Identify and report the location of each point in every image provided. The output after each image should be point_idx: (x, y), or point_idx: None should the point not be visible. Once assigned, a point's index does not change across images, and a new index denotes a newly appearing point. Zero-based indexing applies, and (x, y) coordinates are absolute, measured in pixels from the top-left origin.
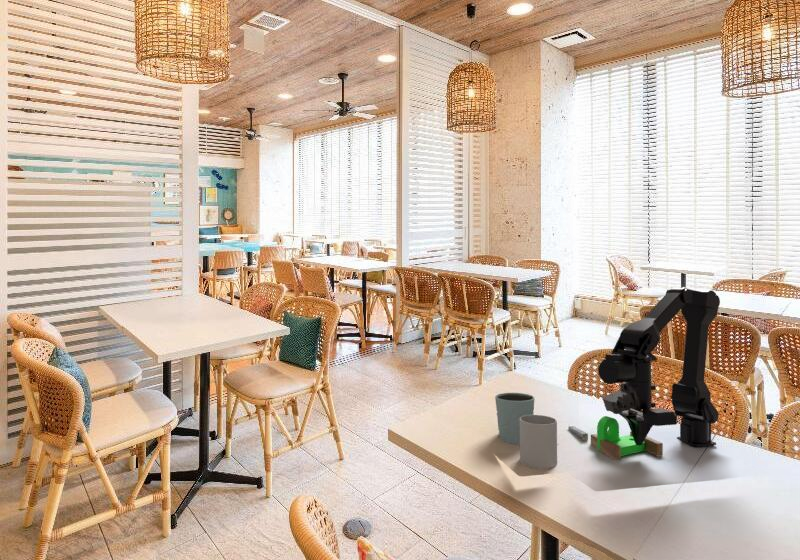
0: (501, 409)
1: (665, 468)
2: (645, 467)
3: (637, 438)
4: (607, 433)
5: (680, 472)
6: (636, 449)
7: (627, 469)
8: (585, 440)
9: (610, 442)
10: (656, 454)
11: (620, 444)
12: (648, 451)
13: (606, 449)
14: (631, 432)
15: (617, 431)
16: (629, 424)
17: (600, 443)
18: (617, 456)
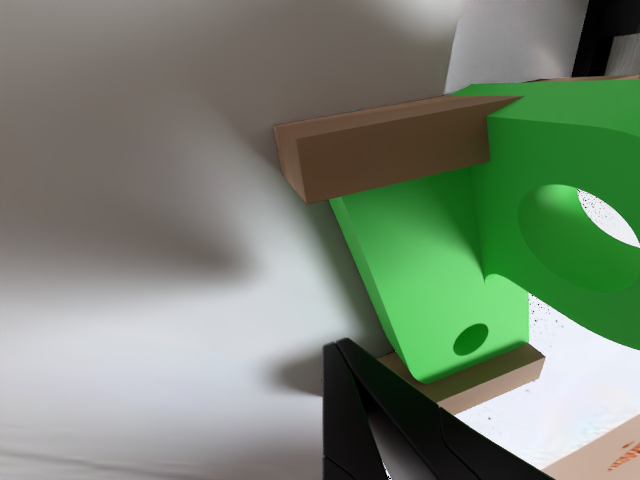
0: None
1: (120, 378)
2: (115, 279)
3: (328, 391)
4: (543, 178)
5: (59, 430)
6: (381, 317)
7: (16, 120)
8: (608, 62)
9: (424, 156)
10: None
11: (416, 244)
12: (381, 358)
13: (396, 110)
14: (534, 359)
15: (542, 288)
16: (497, 463)
17: (486, 97)
18: (279, 151)
